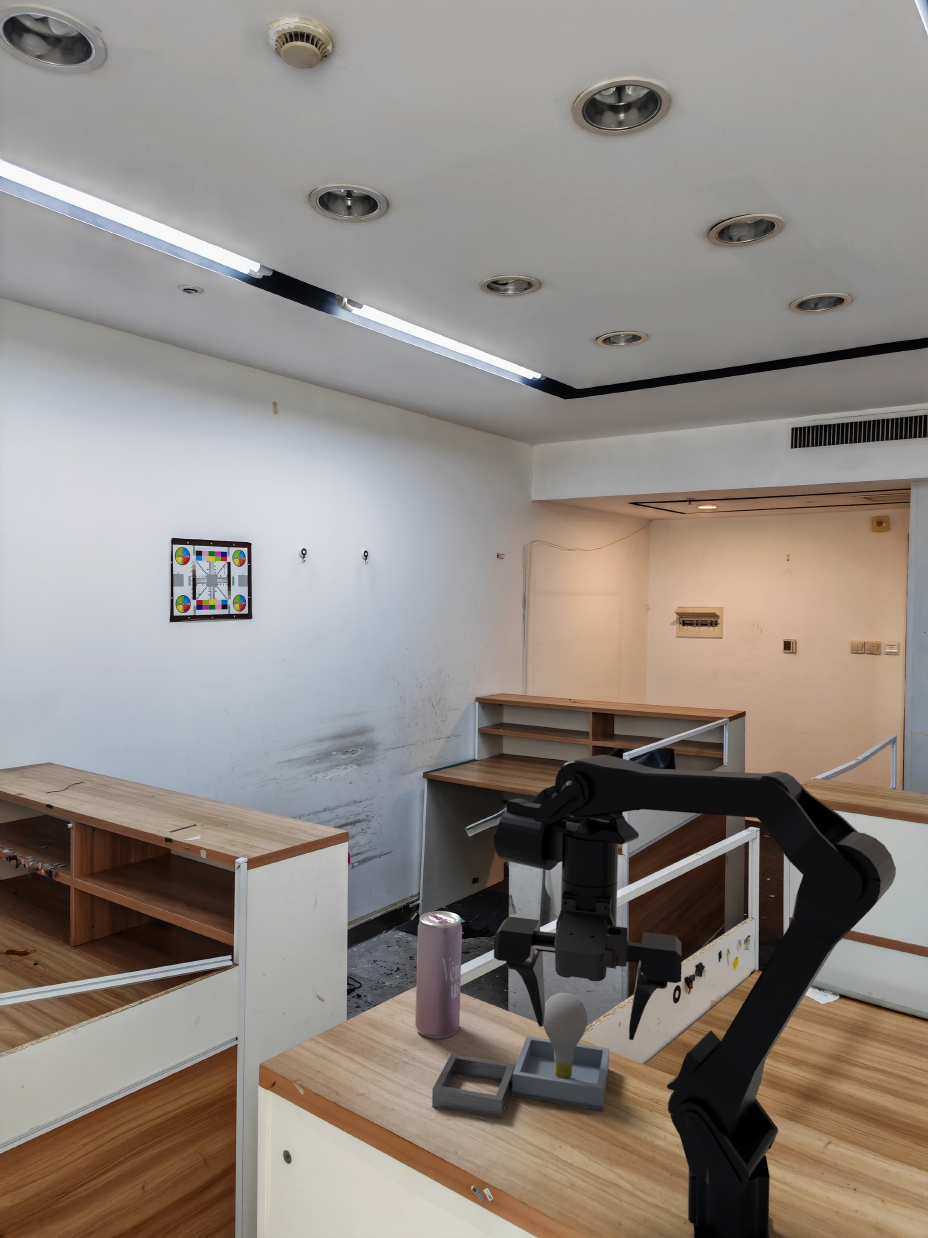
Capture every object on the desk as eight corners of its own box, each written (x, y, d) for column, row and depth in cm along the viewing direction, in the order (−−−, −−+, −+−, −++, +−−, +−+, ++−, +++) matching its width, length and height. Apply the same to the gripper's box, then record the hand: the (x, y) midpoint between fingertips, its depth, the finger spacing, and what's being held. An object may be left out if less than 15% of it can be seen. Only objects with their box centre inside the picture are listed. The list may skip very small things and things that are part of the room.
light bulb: (584, 1094, 95) (586, 1007, 95) (537, 1088, 96) (540, 1001, 96) (587, 1070, 100) (589, 988, 100) (542, 1064, 101) (544, 983, 101)
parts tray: (608, 1069, 101) (609, 1048, 101) (602, 1111, 92) (602, 1089, 92) (526, 1056, 104) (526, 1036, 104) (512, 1096, 95) (512, 1074, 95)
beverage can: (441, 1015, 114) (443, 907, 115) (468, 1031, 110) (471, 920, 110) (406, 1027, 111) (409, 916, 111) (433, 1045, 106) (436, 929, 106)
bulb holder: (514, 1081, 98) (515, 1064, 98) (501, 1119, 90) (501, 1100, 90) (450, 1070, 100) (451, 1054, 100) (432, 1106, 92) (432, 1089, 92)
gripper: (483, 893, 79) (479, 1056, 78) (683, 914, 74) (680, 1088, 74) (506, 862, 89) (502, 1006, 89) (682, 880, 85) (679, 1031, 84)
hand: (585, 1031), depth 84 cm, fingers open, 9 cm apart
